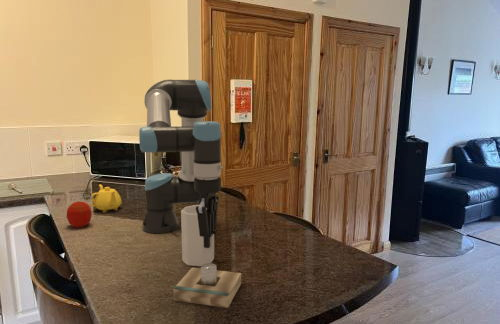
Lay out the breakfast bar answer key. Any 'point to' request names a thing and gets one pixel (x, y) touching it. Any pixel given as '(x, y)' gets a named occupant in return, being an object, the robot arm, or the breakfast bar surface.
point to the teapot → (106, 199)
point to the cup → (192, 238)
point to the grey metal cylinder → (209, 274)
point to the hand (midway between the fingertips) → (208, 256)
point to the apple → (79, 214)
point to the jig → (207, 288)
